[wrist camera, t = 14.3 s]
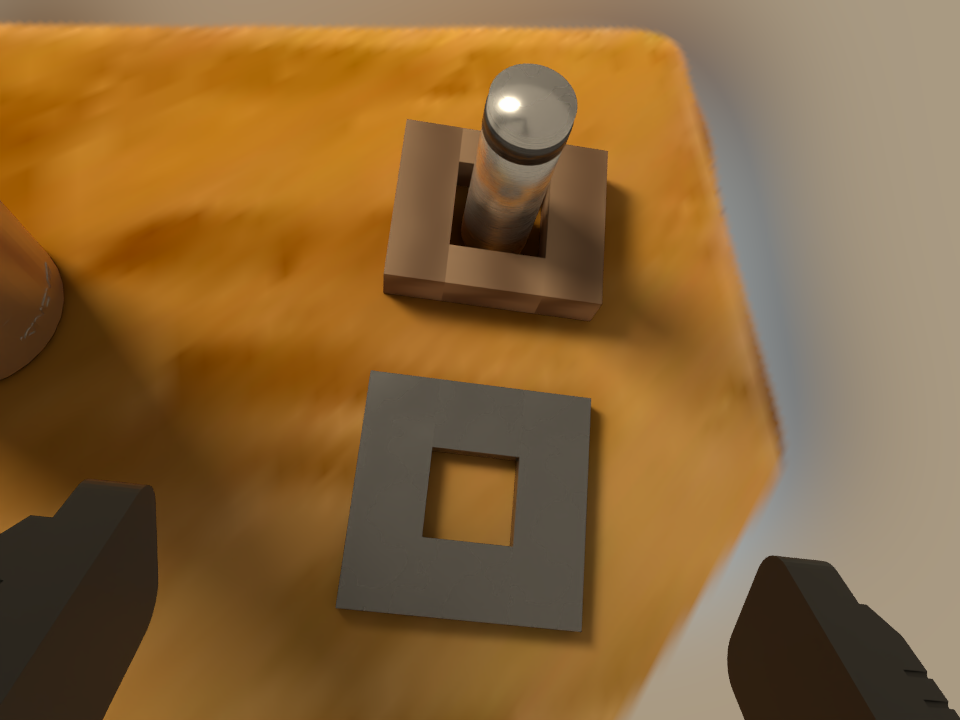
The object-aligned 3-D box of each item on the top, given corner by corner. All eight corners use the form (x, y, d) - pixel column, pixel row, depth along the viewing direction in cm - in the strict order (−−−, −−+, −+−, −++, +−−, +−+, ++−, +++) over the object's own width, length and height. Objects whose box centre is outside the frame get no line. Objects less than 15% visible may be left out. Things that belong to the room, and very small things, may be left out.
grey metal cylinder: (456, 257, 43) (483, 131, 32) (463, 197, 45) (491, 56, 34) (525, 267, 44) (576, 146, 32) (530, 207, 45) (580, 70, 34)
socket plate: (336, 608, 36) (335, 607, 35) (371, 376, 40) (370, 370, 39) (576, 631, 37) (581, 631, 36) (586, 403, 41) (591, 398, 41)
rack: (383, 293, 42) (383, 273, 40) (405, 144, 45) (406, 119, 43) (589, 321, 43) (602, 304, 41) (596, 174, 47) (607, 151, 44)
